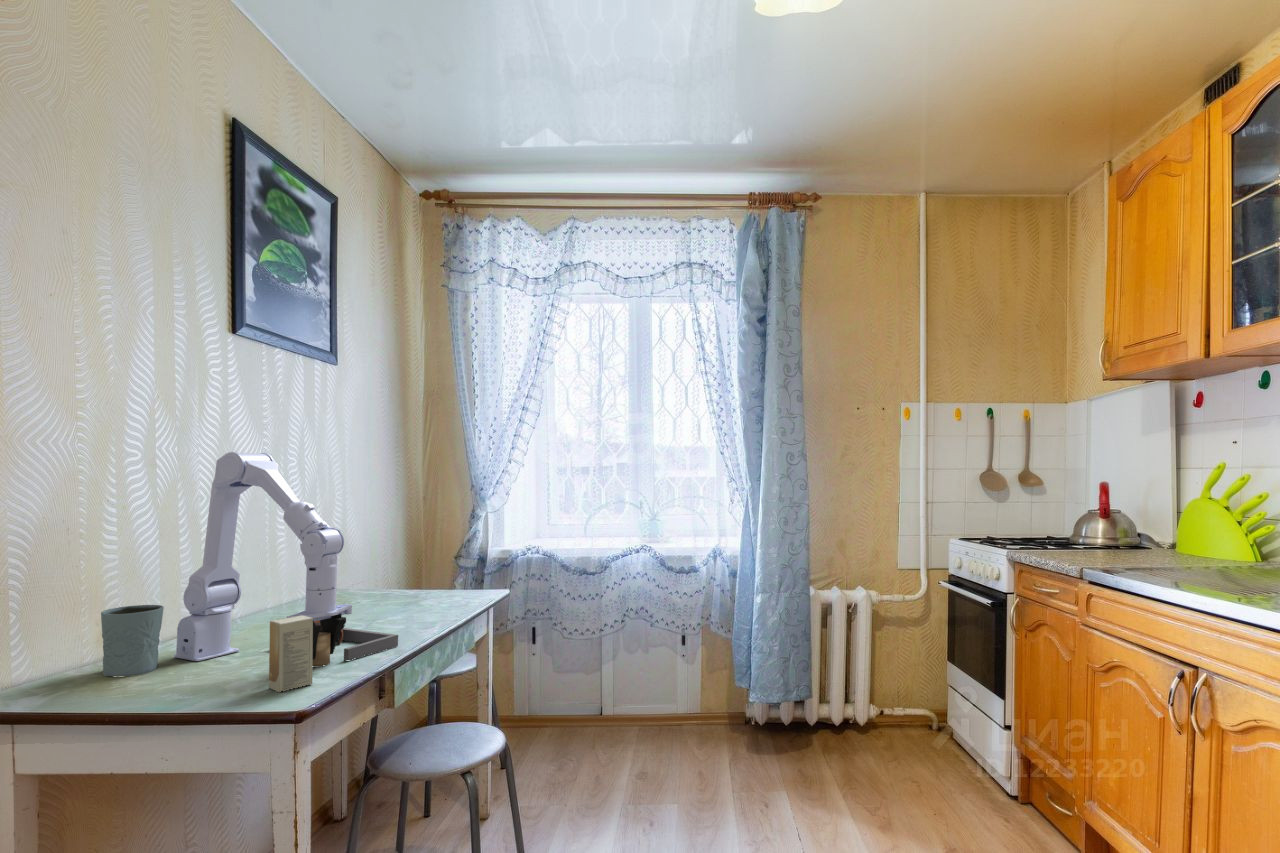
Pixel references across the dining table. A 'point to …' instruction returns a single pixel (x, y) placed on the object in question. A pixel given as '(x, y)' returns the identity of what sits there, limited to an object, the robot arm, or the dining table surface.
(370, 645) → the frame
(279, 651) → the skincare box
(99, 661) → the dining table surface
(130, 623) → the grey green plant pot
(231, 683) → the dining table surface
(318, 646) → the oak dowel
